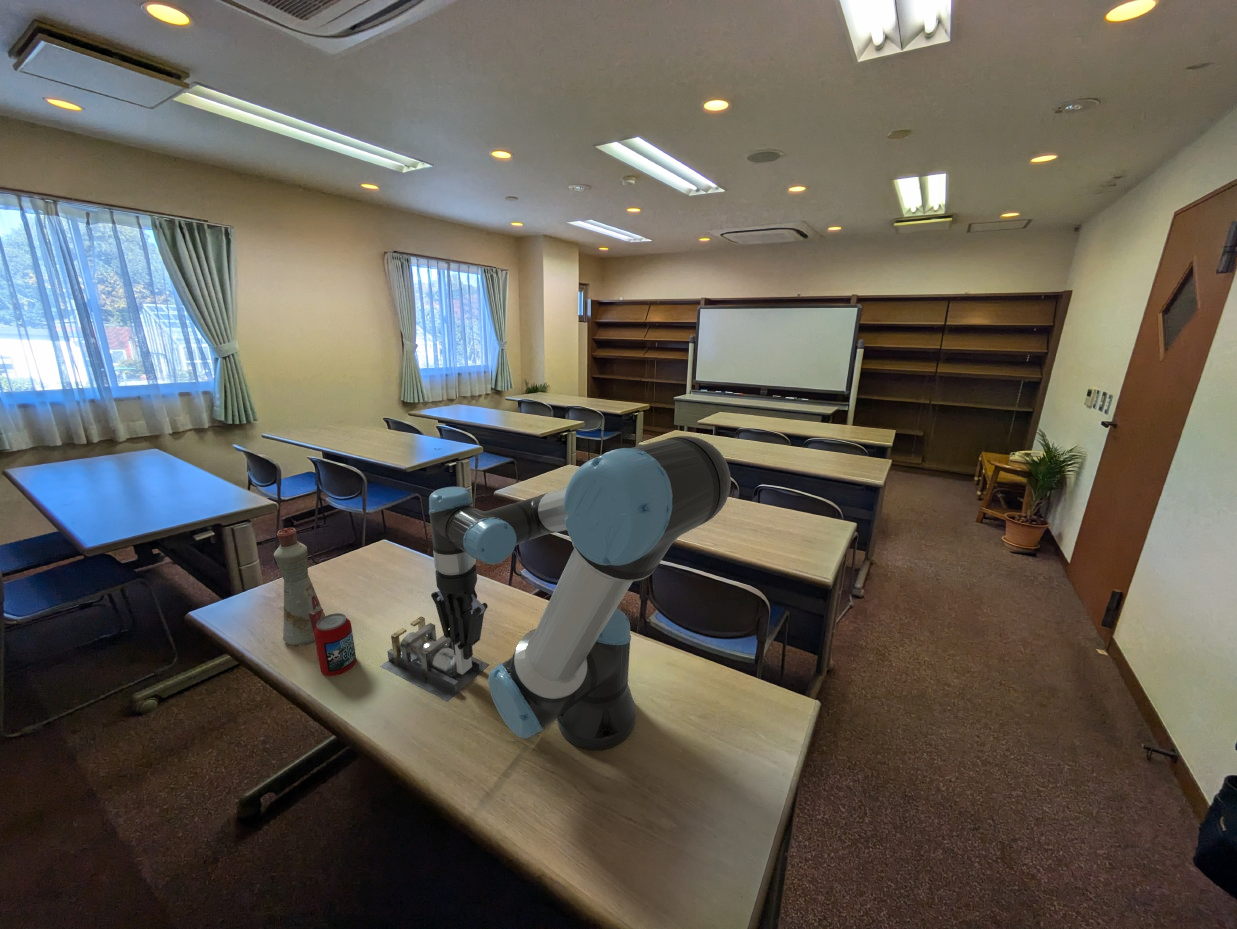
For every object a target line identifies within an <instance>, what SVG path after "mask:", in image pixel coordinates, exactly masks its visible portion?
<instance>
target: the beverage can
mask: <svg viewBox="0 0 1237 929" xmlns="http://www.w3.org/2000/svg"><path fill="white" fill-rule="evenodd" d="M352 627H353V626H352V622H351V620H350V619H349V618H348V617H347V615H346V614H344V613H341V612H340V613H338V612H337V613H331V614H328V615H327V614H326V615H325V617H323V618H321V619H320V620H319V621H318V622H317V624H316V628H315V630H314V638H315V642H314V643H315V649H316V654H317V660H318V666H319V671H320V673H321V674H322V675H323V676H326V677H333V676H335V677H336V676H338V675H342V674H344V673H346V672H348V671H349V670H351V669H352V668H354V666H355V665H356V663H357V654H356V648H355V640H354V633H353V628H352Z"/></svg>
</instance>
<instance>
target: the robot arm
mask: <svg viewBox="0 0 1237 929" xmlns="http://www.w3.org/2000/svg"><path fill="white" fill-rule="evenodd" d="M731 478H732V477H731V470H730V469H729V465H728V462H727V461H726V458H725V457H724V455H723V454H722V453H721V452H720V451H719V449H718V448H716V446H714V445H713V444H711V443H709V441H706V440H704V439H702V438H699V437H697V436H691V435H690V436H688V435H686V436H685V435H680V436H679V435H678V436H672V437H669V438H666V439H661V440H657V441H653V442H650V443H645V444H641V445H638V446H634V447H633V446H632V447H630V448H629V447H627V448H626V447H623V448H617V449H613V450H610V451H607V452H605V453H603V454H601V455H599V456H596V457H594V458H591V459H589V460H587V461H586V462H584V463H583V464H582V465H581V466H580V467H578V469H577V470H576V471H575V473H573V475H572V477H571V478H570V479H569V482H568V484H567V486H566V487H563V488H560V489H556V490H553V491H549V492H547V493H542V494H539V495H537V496H534V497H530V498H527V499H523V500H519V501H517V502H514V503H510V504H507V505H503V506H500V507H496V508H493V509H490V510H486V511H485V510H484V511H483V510H482V509H481V510H480V509H479V508H476V507H474V506H473V502H474V500H473V497H472V493H471V491H470V490H469V489H468V488H466V487H463V486H462V487H461V486H447V487H442V488H439V489H436V490H434V491H433V492H431V493H430V495H429V498H428V501H429V502H428V508H429V509H428V514H429V521H430V530H431V538H432V548H433V551H432V552H433V563H434V569H435V582H436V587H437V590H435V591H434V592H432V593H431V594H430V597H431V599H432V600H433V602H434V604H435V607H436V611H437V615H438V618H439V621H440V625H441V630H442V633H443V635H444V636H445V638H448V637H449V638H450V639H451V642H452V643H453V648H454V654H455V655H456V666H457V672H458V673H460V674H462V675H463V674H464V673H465V672H466V671H467V670H469V669H470V668H471V667H472V659H471V657H473V655H474V653H473V650H474V649H473V646H474V645H476V644H477V643H479V642H480V641H481V637H482V636H481V635H482V631H483V630H482V629H483V624H484V623H483V622H484V615H485V612H486V611H487V609H488V607H489V606H488V604H487V602H483V603H482V602H480V601H479V600H478V594H477V591H476V585H477V583H478V572H477V571H478V570H477V564H476V562H477V560H478V561H480V562H483V563H485V564H487V565H496V564H497V565H498V564H500V563H503V562H504V561H506V559H507V558H508V557H509V556H511V555H512V553H513V552H514V550H515V548H516V546H518V545H520V544H524V543H526V542H527V541H530V540H533V539H534V540H535V539H536V538H539V537H542V536H545V535H551V534H555V533H558V532H563V531H567V533H568V536H569V539H570V541H571V543H572V547H573V550H572V552H571V554H570V556H569V559H568V561H567V563H566V565H565V567H564V568H563V569H564V570H563V571H562V572H561V575H560V576H559V577H560V578H559V579H558V582H557V584H556V586H555V588H554V590H553V592H552V595H551V597H550V598H549V601H548V602H547V605H546V607H545V609H544V612H543V613H542V616H541V617H540V620H539V622H538V624H537V626H536V628H534V629H532V630H530V631H528V632H526V634H524V636H523V637H522V638H521V639H520V640H519V642H518V643H517V646H516V647H515V649H514V652H513V653H512V656H511V657H510V658H509V659H507V660H506V661H504V662H502V663H501V662H500V663H498V664H497V665H496V666H495V667H494V668H493V669H491V671H490V672H489V674H488V678H487V680H488V688H489V692H490V695H491V698H492V701H493V703H494V704H493V705H494V707H495V708H496V710H497V712H498V714H499V715H500V717H501V718H502V720H503V722H504V723H505V725H506V726H507V727H508V728H509V730H510V731H511V732H512V733H513V734H514V735H516V736H517V737H519V738H521V739H529V738H531V737H533V736H535V735H536V734H538V733H541V732H542V731H543V729H545V728H546V727H547V726H549V725H550V724H551V723H552V722H554V721H555V720H556V721H557V726H558V729H559V731H560V733H561V734H562V736H563V737H564V738H565V739H566V740H567V741H568V742H569V743H570V744H572V745H574V746H576V747H578V748H581V749H584V750H592V751H599V750H600V751H602V750H607V749H611V748H613V747H614V748H615V747H616V746H618V745H620V744H621V743H623V742H624V741H625V740H626V739H627V738H628V737H629V736H630V735H631V733H632V731H633V729H634V727H635V723H636V704H635V701H634V698H633V695H632V691H631V689H630V686H629V667H630V665H629V664H630V650H631V649H630V648H631V640H632V635H631V624H630V620H629V618H628V616H627V614H625V613H624V611H622V610H620V609H619V608H618V606H619V605H620V603H621V601H622V600H623V598H624V596H625V595H626V593H627V591H629V588H630V587H631V585H632V584H633V582H638V581H642V580H645V579H646V578H648V577H649V576H651V575H652V574H653V573H654V571H656V569H657V568H658V566H659V564H660V563H661V562H662V560H663V558H664V557H665V555H667V554H666V553H667V552H668V550H669V549H670V548H671V546H672V545H673V543H674V542H675V541H676V540H677V539H678V538H680V536H682V535H684V534H686V533H689V531H692V530H694V529H696V528H698V527H700V526H701V525H704V524H705V523H707V522H709V521H711V520H712V519H713V518H715V517H716V515H718V514H719V513H720V511H721V510H722V509H723V508H724V506H725V505H726V503H727V501H728V500H727V499H728V498H729V495H730V491H731V486H732V485H731V484H732V479H731Z"/></svg>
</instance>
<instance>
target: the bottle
mask: <svg viewBox="0 0 1237 929" xmlns="http://www.w3.org/2000/svg"><path fill="white" fill-rule="evenodd" d="M276 536H277V538H278V542H279V546H278V548H277V549H275V551H274V553H273V558H274V560H275V562H276V564H277V567H278V569H279V572H280V574H281V577H282V579H283V628H282V629H283V630H282V631H283V634H282V640H283V642H285V643H286V644H289V645H291V646H294V647H299V646H306V645H310V644H313V643H315V638H314V630H315V628H316V624H317V622H318V621H319V620H320V619H321V618H323V617H325V616H326V613H325V612H324V608H323V607H322V605H321V603H320V600H319V597H318V596H317V592H316V590H315V587H314V585H313V582H312V581H311V578H310V576H309V568H308V566H309V563H308V547H307V545H305V544H303V543H302V542H300V541H298V537H297V530H296V528H294V527H285V528H282V529H279V530H278V531H277V533H276Z"/></svg>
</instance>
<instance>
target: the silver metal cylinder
mask: <svg viewBox="0 0 1237 929" xmlns="http://www.w3.org/2000/svg"><path fill="white" fill-rule="evenodd" d="M415 632H416V631H415ZM415 632H414V631H411V632H409V633H407V634H406V635H405V636H404V637H403V638H402V640H401V641H403V640H404V639H406V638H407V637H409V636H411V635H412V634H414V633H415ZM433 642H435V641H433V640H431V639H429V638H426V637H423V638H421V639H420V640H418V641H417V642H415V643H414V644H412V645H411V646H410V651H411V658H412V659H414V660H416V661H418V662H420V663H421V655H420V651H422V650H423V649H425V648H426V647H428V646H429V645H430V644H432V643H433ZM400 649H401V644H400ZM401 654H402V653H401ZM430 661H431V668H432V669H434V670H436V671H438V672H440V673H442V674H444V675H446V676H448V677H450V678H451V677H454V676H455V675H457V674H458V672H457V666H456V655H455V654H454V650H453V649H450V648H448V647H446V646H442V647H441V648H440V649H438V650H437V651H436V652H434V653H433V654H431V655H430Z"/></svg>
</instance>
